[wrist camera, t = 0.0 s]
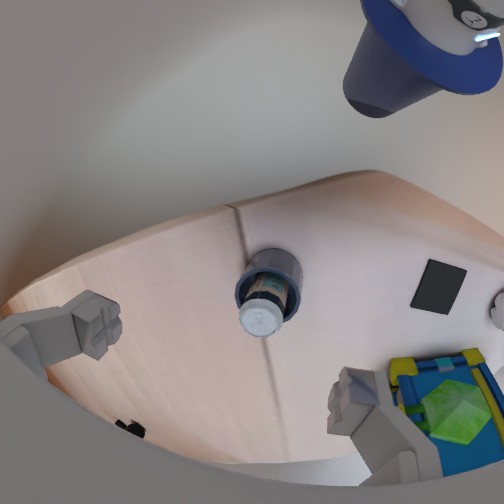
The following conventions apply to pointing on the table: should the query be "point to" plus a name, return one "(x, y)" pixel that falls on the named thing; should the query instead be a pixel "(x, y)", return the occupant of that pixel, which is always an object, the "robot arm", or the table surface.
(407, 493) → the robot arm
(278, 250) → the cup
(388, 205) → the table surface
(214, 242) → the table surface
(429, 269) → the mat
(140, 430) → the light fixture
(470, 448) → the decorative book
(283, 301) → the supplement bottle
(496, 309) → the water bottle
